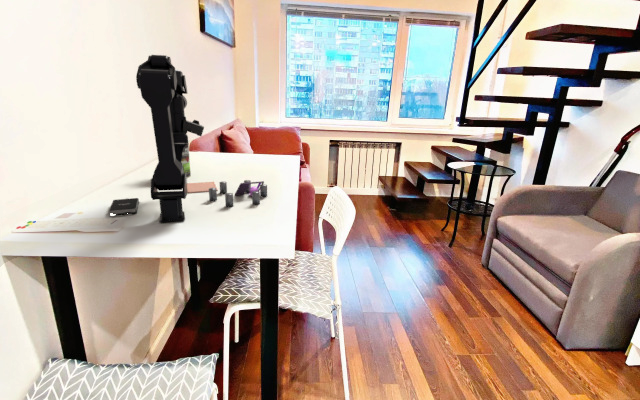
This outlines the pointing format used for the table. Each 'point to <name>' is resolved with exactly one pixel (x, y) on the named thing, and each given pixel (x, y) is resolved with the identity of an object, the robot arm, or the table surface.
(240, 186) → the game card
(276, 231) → the table surface
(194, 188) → the mat
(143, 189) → the table surface
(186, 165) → the coffee can
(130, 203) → the external hard drive
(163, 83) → the robot arm
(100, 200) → the table surface
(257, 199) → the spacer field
